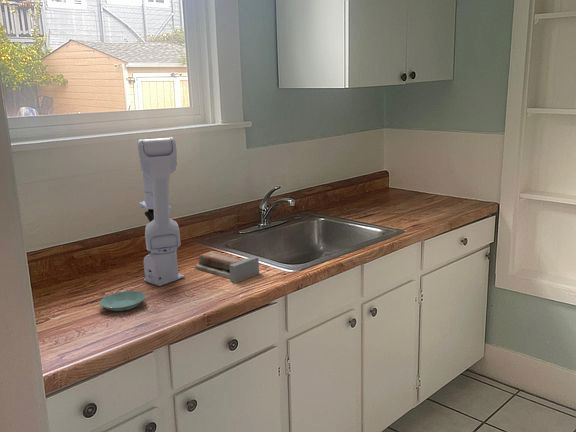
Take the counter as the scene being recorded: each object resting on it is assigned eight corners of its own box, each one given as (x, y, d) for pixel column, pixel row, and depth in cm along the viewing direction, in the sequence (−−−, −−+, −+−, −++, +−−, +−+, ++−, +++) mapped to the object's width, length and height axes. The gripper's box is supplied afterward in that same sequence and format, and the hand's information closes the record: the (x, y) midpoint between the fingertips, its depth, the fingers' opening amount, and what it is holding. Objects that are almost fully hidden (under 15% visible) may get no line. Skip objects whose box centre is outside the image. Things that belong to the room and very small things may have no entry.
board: (235, 282, 170) (234, 266, 169) (230, 281, 171) (229, 265, 170) (259, 273, 177) (258, 257, 176) (254, 271, 178) (253, 256, 177)
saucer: (94, 316, 150) (93, 308, 150) (109, 298, 162) (108, 291, 161) (139, 315, 150) (138, 306, 149) (151, 297, 161) (150, 289, 161)
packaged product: (192, 255, 183) (216, 247, 190) (194, 269, 184) (217, 261, 191) (232, 265, 171) (256, 257, 178) (233, 281, 172) (256, 272, 179)
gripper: (177, 191, 183) (181, 232, 186) (150, 186, 192) (154, 226, 195) (159, 195, 178) (163, 238, 181) (132, 190, 187) (136, 230, 190)
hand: (157, 232), depth 188 cm, fingers closed
